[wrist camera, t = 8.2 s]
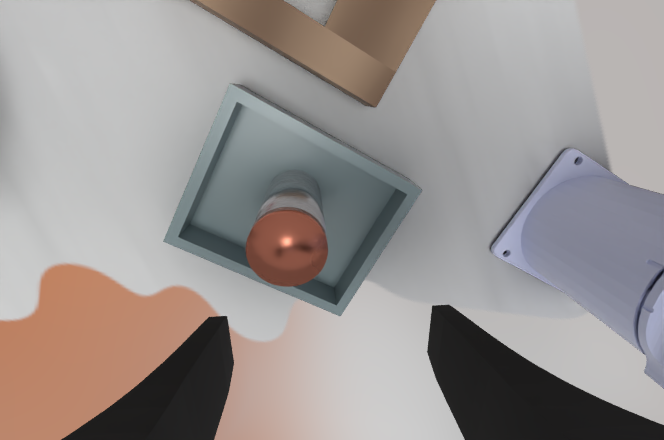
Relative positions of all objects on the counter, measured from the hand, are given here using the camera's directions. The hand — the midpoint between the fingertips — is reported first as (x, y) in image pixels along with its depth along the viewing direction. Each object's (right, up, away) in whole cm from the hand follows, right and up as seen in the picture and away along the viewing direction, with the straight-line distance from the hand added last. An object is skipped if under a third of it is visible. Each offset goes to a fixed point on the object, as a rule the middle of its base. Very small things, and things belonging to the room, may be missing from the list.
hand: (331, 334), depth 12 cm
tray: (-2, +5, +9) cm, 11 cm away
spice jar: (-2, +5, +8) cm, 10 cm away
